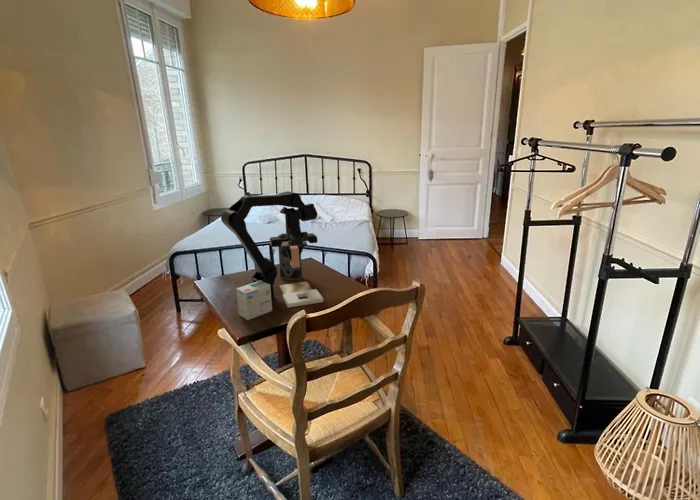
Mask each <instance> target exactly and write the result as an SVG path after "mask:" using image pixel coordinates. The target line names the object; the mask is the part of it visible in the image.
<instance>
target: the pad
mask: <svg viewBox="0 0 700 500" xmlns="http://www.w3.org/2000/svg"><path fill="white" fill-rule="evenodd" d="M279 288H280V290H281V292H282V295H283V294H287V293H294V292H300V291H307V290H314V289H313V288H312V287H311V285H310V284H309V282H308V281H301V282H293V283H288V284H287V283H286V284H280V285H279Z"/></svg>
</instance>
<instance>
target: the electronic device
mask: <svg viewBox="0 0 700 500" xmlns="http://www.w3.org/2000/svg"><path fill="white" fill-rule="evenodd" d="M277 237H280V238H281V239H284V238H286V232H285V233H280V234H278V236H277ZM288 245H289V246H292V245H291V243H289V244H288ZM295 246H297V247H298V245H295ZM277 248H278V249H277V250H278V260H279V261H278V262H279V263H278V265H279V278H280V279H282V280H283V279H284V280H290V281H298V280H300V279H301V278H302V277H303V267H302V255H301V256H300V259H299V263H300V267H296V268H292V266H291V265H290V259H289V256H288V254H287V252H286V249H285V248H282V246H280V247H277Z"/></svg>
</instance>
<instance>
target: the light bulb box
mask: <svg viewBox="0 0 700 500" xmlns="http://www.w3.org/2000/svg"><path fill="white" fill-rule="evenodd" d="M235 290H236V298H237V308H238V315H239V316H241V317H242V318H243V319H245V320H246V321H250V320H251V319H255V318H257V317H260V316H262V315H265V314H268V313H271V312H273V305H272V304H273V303H272V301H273V300H271V289H270V284H268V283H265V282H263V281H261V280H260V281H257V282H252V283H249V284H246V285H243V286H240V287H239V286H238V287H236V288H235Z"/></svg>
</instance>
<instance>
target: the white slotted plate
mask: <svg viewBox="0 0 700 500" xmlns="http://www.w3.org/2000/svg"><path fill="white" fill-rule="evenodd" d="M300 298H301V299H300ZM282 299H283V301H284V303H285V304H286V306H287V308H294V307H299V306H306V305H313V304H318V303H323V302H324V297H323V296H322V295H321V294H320V292H319V291H318V289H316V288H314V289H313V290H307V291H300V292H294V293H287V294H283V293H282Z"/></svg>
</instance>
